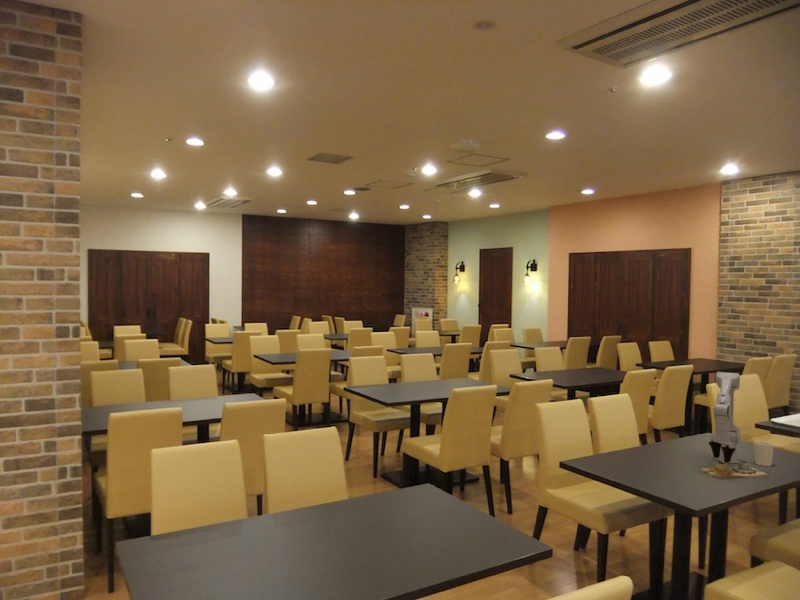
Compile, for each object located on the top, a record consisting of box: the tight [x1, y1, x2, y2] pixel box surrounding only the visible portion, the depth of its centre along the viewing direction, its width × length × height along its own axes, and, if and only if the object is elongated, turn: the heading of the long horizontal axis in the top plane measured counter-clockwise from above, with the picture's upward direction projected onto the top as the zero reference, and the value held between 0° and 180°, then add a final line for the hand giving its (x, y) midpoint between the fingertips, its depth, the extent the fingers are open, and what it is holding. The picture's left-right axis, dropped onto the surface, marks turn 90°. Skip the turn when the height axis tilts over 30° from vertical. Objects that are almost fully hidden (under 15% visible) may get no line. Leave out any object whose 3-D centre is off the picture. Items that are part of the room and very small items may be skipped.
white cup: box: [753, 441, 774, 467], centre depth 280 cm, size 8×8×10 cm
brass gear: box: [709, 461, 734, 475], centre depth 264 cm, size 10×10×4 cm
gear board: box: [699, 459, 770, 479], centre depth 265 cm, size 12×25×6 cm, turn 95°
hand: (721, 460), depth 265 cm, fingers open, 7 cm apart
